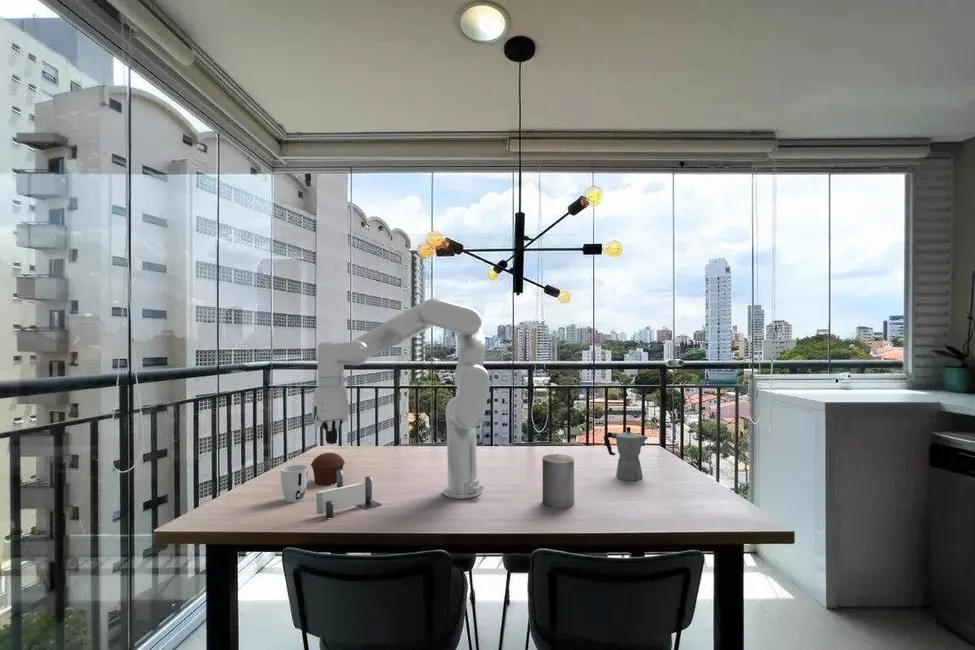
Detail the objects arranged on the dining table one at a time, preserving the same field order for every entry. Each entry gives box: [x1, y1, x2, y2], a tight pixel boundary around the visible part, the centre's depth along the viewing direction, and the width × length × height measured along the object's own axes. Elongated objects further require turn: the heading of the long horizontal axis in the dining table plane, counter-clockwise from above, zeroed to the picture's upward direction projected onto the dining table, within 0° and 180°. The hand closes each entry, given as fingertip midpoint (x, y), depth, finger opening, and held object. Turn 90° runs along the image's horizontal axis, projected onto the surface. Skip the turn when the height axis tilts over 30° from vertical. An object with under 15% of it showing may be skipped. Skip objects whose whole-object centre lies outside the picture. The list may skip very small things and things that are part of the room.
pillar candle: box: [542, 453, 575, 509], centre depth 150 cm, size 10×10×15 cm
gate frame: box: [325, 469, 382, 519], centre depth 150 cm, size 22×17×8 cm
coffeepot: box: [603, 426, 649, 482], centre depth 177 cm, size 15×9×18 cm, turn 67°
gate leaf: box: [316, 482, 365, 515], centre depth 144 cm, size 14×1×6 cm, turn 129°
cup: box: [280, 464, 309, 503], centre depth 155 cm, size 8×8×10 cm
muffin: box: [310, 452, 346, 486], centre depth 174 cm, size 12×11×10 cm
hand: (331, 443), depth 148 cm, fingers closed
